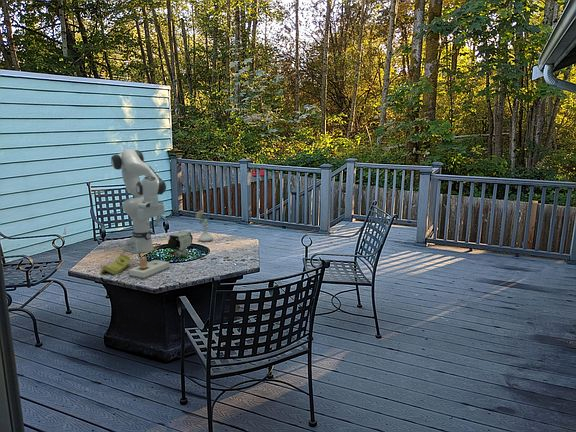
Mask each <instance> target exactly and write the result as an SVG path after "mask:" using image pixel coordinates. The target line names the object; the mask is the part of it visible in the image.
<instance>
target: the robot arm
mask: <svg viewBox="0 0 576 432" xmlns="http://www.w3.org/2000/svg"><path fill="white" fill-rule="evenodd" d="M144 161H145V157H144V154H143V153H142V151H141V150H140V149H139V150H138V149H137V150H134V149H132V148H126V149H123V151H122V152H121V153H118V154H114V155H112V156H111V157H110V164H111V166H112V167H113V169H115V170H121V176H122V180H123V183H124V186H125V190H126V191H127V193H128V194H131V195H133V197H134V198H128V199H126V200H124V201H123V203H122V209H123V213H125V214H127V215H128V216H129V217H130V219H131V221H132V227H133V231H132V232H131V235H132V236H131V237H130V238H129V239H128V240H127V241H126V243H125V247H123V248H122V250H123V251H125V252H128V253H132V254H139V253H141V254H142V253H148V252H151V251H153V250H154V249H155V248H154V245H153V239H152V236H151V235H152V232H151V227H150V226H151V225H150V224H151V223H150V220H149V219H151V218H156V219H155V223H159V222H160V219H161V216H163V215H165V212H166V211H165V205H164V202H163V201H162V200H160V199H159V196H160V195H163V194H164V193H165V191H166V190H167V184H166V183H165V180H163V179H162V178H160V177H159V175H158V174H157V173H156V171H155V170H154V169H153V168H152V167H151V166H150V165H149V164H147V163H145V162H144ZM140 176H145V177H143V179H141V178H140ZM158 195H159V196H158Z"/></svg>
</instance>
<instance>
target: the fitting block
mask: <svg viewBox="0 0 576 432" xmlns="http://www.w3.org/2000/svg"><path fill="white" fill-rule="evenodd" d="M168 269H170V261H165V260H159V259H158V260H157V259H154V260H151V261H147V269H146V270H140V265H138V266H136V267H133V268H130V269H128V276H129V277H130V276H131V278H134V279H136V278H137V279H140V280H141V279H142V280H146V279H147V278H150V277H153V276H155V275H157V274H159V273H162V272H165V271H166V270H168Z"/></svg>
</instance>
